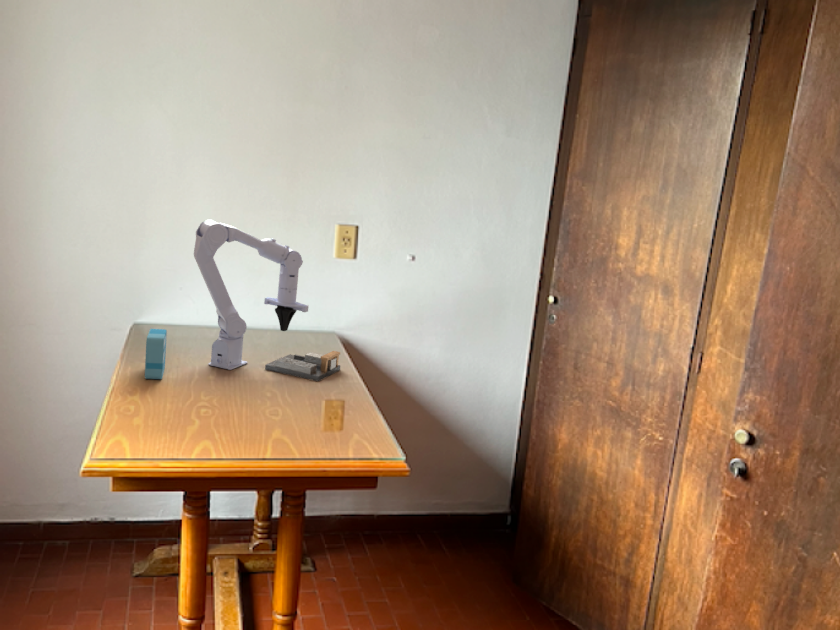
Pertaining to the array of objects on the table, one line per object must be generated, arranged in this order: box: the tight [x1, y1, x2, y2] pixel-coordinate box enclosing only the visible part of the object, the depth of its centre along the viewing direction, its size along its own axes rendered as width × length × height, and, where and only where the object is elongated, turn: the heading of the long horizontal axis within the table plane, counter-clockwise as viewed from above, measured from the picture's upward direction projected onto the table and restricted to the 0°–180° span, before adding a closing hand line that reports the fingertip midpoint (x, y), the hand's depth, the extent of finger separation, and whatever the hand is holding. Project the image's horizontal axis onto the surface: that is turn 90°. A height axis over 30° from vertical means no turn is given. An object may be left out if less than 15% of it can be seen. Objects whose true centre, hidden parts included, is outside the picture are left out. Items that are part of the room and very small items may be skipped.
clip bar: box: [304, 352, 336, 370], centre depth 241 cm, size 4×9×3 cm, turn 70°
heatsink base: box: [264, 350, 341, 382], centre depth 240 cm, size 15×18×6 cm
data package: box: [144, 328, 168, 380], centre depth 219 cm, size 12×4×12 cm, turn 14°
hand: (284, 330), depth 244 cm, fingers closed
